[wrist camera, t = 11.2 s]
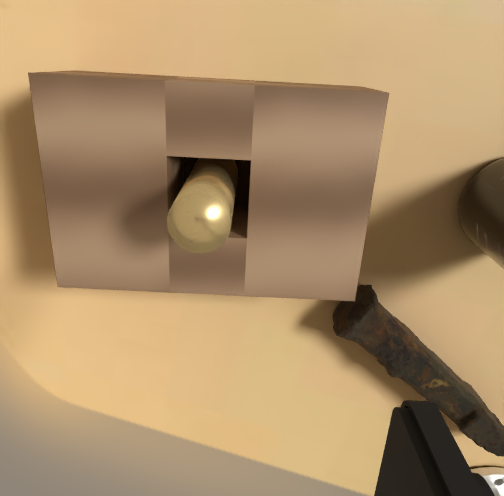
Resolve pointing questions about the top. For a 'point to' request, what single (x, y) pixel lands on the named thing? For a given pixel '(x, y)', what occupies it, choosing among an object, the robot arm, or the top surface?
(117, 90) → the hole block
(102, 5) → the top surface
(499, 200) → the supplement bottle
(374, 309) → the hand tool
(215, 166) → the peg
